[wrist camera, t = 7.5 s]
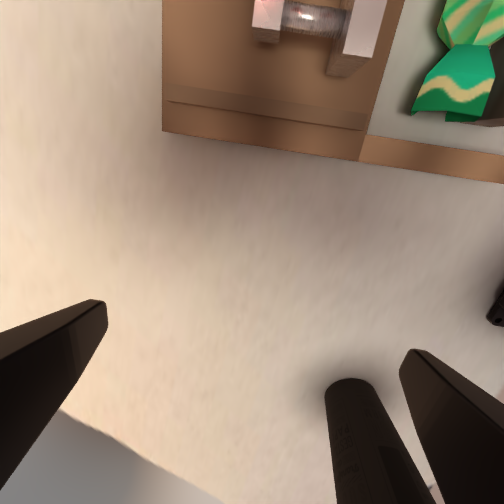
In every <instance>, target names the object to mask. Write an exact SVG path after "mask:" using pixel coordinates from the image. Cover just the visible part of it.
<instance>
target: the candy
mask: <svg viewBox="0 0 504 504" xmlns="http://www.w3.org/2000/svg"><path fill="white" fill-rule="evenodd" d="M436 31H437V34H438V36H439V37H440V39H441V40H442V41H443V42H444V43H445V44H446V45H447V47H448V48H449V49H450V51H449V52H448V53H447V54H446V55H445V56H444V57H443V58H442V59H441V60H440V61H439V62H438V64H437V65H436V66H435V67H434V68H433V69H432V70H431V71H430V72H429V73H428V74H427V76H426V78H425V80H424V82H423V85H422V87H421V89H420V91H419V94H418V96H417V98H416V100H415V102H414V105H413V107H412V109H411V116H412V115H414V114H415V113H417V112H418V111H447V113H446V116H445V121H446V122H475V121H476V120H478V119H479V118H480V117H481V116H482V113H483V110H484V108H485V105H486V102H487V99H488V96H489V93H490V90H491V87H492V85H493V82H494V79H495V72H494V68H493V64H492V60H491V56H490V52H489V48H488V47H489V46H491V45H492V44H494V43H495V42H497V41H498V40H500V39H501V38H502V37H504V0H446V3H445V6H444V9H443V12H442V15H441V18H440V21H439V24H438V27H437V30H436Z"/></svg>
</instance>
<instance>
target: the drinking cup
mask: <svg viewBox="0 0 504 504" xmlns="http://www.w3.org/2000/svg"><path fill="white" fill-rule="evenodd" d="M325 405H326V414H327V422H328V431H329V439H330V447H331V456H332V464H333V473H334V481H335V490H336V498H337V504H436V502H435V500H434V499H433V497H432V495H431V493H430V491H429V489H428V488H427V486H426V484H425V482H424V480H423V478H422V476H421V475H420V473H419V471H418V469H417V467H416V465H415V464H414V462H413V460H412V458H411V456H410V454H409V452H408V451H407V449H406V447H405V445H404V443H403V441H402V439H401V438H400V436H399V434H398V432H397V430H396V428H395V427H394V425H393V423H392V421H391V419H390V417H389V415H388V414H387V412H386V410H385V408H384V406H383V404H382V403H381V401H380V399H379V397H378V395H377V393H376V391H375V390H374V388H373V387H372V386H371V385H370V384H369V383H367V382H365V381H363V380H359V379H344V380H340V381H338V382H336V383H334V384H332V385H331V386H330V387H329V388H328V389H327V391H326V393H325Z"/></svg>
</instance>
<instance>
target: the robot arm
mask: <svg viewBox="0 0 504 504" xmlns="http://www.w3.org/2000/svg"><path fill="white" fill-rule="evenodd" d="M487 319H488V321H489V322H490V323H492V324H493V325H495V326H502V327H504V291H503V293H502V295H501V296H500V298H499V300H498V301H497V303H496V304H495V306H494V308H493V309H492V311H491V312H490V314H489V316H488V318H487ZM107 328H108V316H107V306H106V303H105V302H104V301H100V300H94V299H89V300H86V301H83V302H81V303H78V304H75V305H73V306H70V307H67V308H65V309H62V310H59V311H57V312H54V313H51V314H49V315H46V316H43V317H41V318H38V319H35V320H33V321H30V322H28V323H25V324H22V325H20V326H17V327H14V328H12V329H9V330H6V331H4V332H1V333H0V490H1V489H2V487H3V486H4V485H5V483H6V482H7V480H8V479H9V478H10V476H11V475H12V473H13V472H14V471H15V469H16V468H17V466H18V465H19V463H20V462H21V461H22V459H23V458H24V456H25V455H26V454H27V452H28V451H29V449H30V448H31V446H32V445H33V443H34V442H35V441H36V439H37V438H38V437H39V435H40V434H41V432H42V431H43V429H44V428H45V427H46V425H47V424H48V423H49V421H50V420H51V418H52V417H53V415H54V414H55V413H56V411H57V410H58V408H59V407H60V406H61V404H62V403H63V401H64V400H65V399H66V397H67V396H68V394H69V393H70V391H71V390H72V389H73V387H74V386H75V384H76V383H77V381H78V380H79V378H80V376H81V375H82V373H83V371H84V370H85V368H86V366H87V364H88V363H89V361H90V359H91V357H92V356H93V354H94V352H95V350H96V349H97V347H98V345H99V344H100V342H101V340H102V338H103V337H104V335H105V333H106V331H107ZM399 377H400V381H401V384H402V387H403V391H404V394H405V397H406V400H407V404H408V407H409V410H410V413H411V417H412V420H413V423H414V426H415V429H416V432H417V435H418V437H419V440H420V443H421V445H422V448H423V450H424V453H425V455H426V458H427V460H428V462H429V465H430V467H431V470H432V472H433V475H434V477H435V480H436V482H437V485H438V487H439V489H440V492H441V494H442V497H443V499H444V502H445V504H504V404H503V403H501V402H500V401H498V400H497V399H495V398H494V397H493V396H491V395H490V394H488V393H487V392H485V391H484V390H482V389H481V388H480V387H478V386H477V385H475V384H474V383H472V382H471V381H470V380H468V379H467V378H465V377H464V376H462V375H461V374H459V373H458V372H457V371H455V370H454V369H452V368H451V367H449V366H448V365H446V364H445V363H444V362H442V361H441V360H439V359H438V358H436V357H435V356H433V355H432V354H431V353H429V352H428V351H425V350H420V349H410V350H409V351H408V352H407V354H406V356H405V358H404V360H403V362H402V364H401V366H400V369H399Z"/></svg>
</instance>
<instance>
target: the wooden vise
mask: <svg viewBox="0 0 504 504" xmlns="http://www.w3.org/2000/svg"><path fill="white" fill-rule="evenodd" d="M289 1H295V2H302V3H308V4H315V5H321V6H328V7H334V8H340V4H341V0H289ZM404 1H405V0H387V3H386V7H385V11H384V14H383V18H382V22H381V26H380V29H379V33H378V37H377V40H376V44H375V48H374V52H373V55H372V58H371V59H370V60H369V61H367V62H366V63H365V64H364V65H363V66H361V67H360V68H359V69H358V70H356V71H355V72H354V73H353V74H352V75H350V76H349V77H348V78H345V77H339V76H332V75H326V69H327V64H328V60H329V55H330V50H331V46H332V41H333V38H327V37H321V36H315V35H308V34H302V33H295V32H289V31H282V30H280V36H279V43H278V44H276V43H270V42H263V41H257V40H254V37H253V30H252V22H253V13H254V4H255V0H162V131H165V132H171V133H178V134H184V135H190V136H197V137H203V138H210V139H216V140H223V141H229V142H236V143H242V144H248V145H255V146H261V147H268V148H274V149H281V150H287V151H294V152H300V153H307V154H313V155H319V156H326V157H332V158H339V159H345V160H352V161H358V162H365V163H371V164H377V165H384V166H390V167H397V168H403V169H410V170H416V171H423V172H429V173H436V174H442V175H448V176H455V177H461V178H468V179H474V180H481V181H487V182H494V183H500V184H504V156H501V155H495V154H488V153H482V152H475V151H469V150H462V149H456V148H450V147H443V146H437V145H430V144H424V143H417V142H411V141H404V140H398V139H392V138H385V137H379V136H372V135H366V132H367V129H368V125H369V122H370V118H371V115H372V111H373V108H374V105H375V101H376V98H377V94H378V91H379V87H380V84H381V80H382V77H383V74H384V70H385V67H386V63H387V60H388V56H389V53H390V49H391V46H392V43H393V39H394V36H395V32H396V29H397V25H398V22H399V18H400V15H401V11H402V8H403V5H404ZM490 56H491V60H492V64H493V68H494V72H495V79H494V82H493V85H492V87H491V90H490V93H489V96H488V99H487V102H486V105H485V108H484V110H483V113H482V116H481V117H480V118H479V119H478V120H476V121H475V122H460V123H466V124H473V125H479V126H486V127H498V126H504V37H502V38H501V39H500V40H498V41H497V42H495V43H494V44H493V45H492V47H491V50H490Z"/></svg>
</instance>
